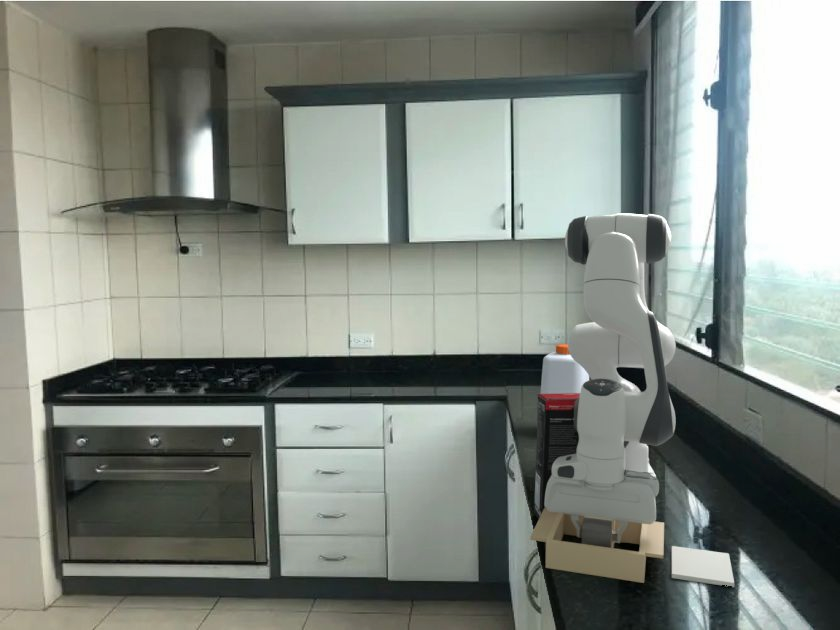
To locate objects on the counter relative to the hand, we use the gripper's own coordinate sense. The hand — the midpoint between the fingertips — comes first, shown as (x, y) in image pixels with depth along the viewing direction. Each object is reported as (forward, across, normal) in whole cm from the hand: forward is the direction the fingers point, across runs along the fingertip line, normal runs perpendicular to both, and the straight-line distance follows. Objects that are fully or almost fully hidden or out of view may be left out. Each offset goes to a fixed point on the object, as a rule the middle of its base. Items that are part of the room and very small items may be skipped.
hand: (598, 539), depth 130 cm
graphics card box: (+3, +6, -16) cm, 17 cm away
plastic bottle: (+3, +18, -82) cm, 84 cm away
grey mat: (+3, -18, -1) cm, 18 cm away
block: (+3, 0, 0) cm, 3 cm away
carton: (+3, 0, 0) cm, 3 cm away
